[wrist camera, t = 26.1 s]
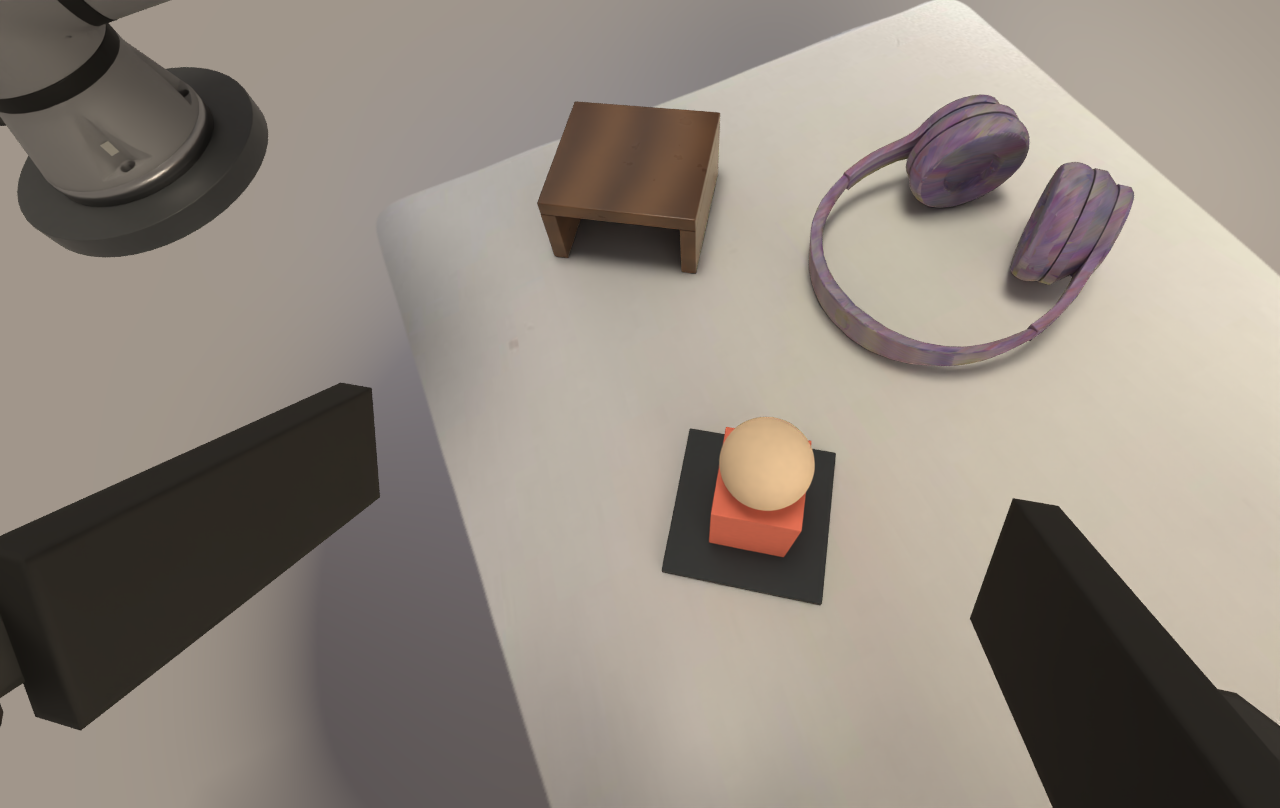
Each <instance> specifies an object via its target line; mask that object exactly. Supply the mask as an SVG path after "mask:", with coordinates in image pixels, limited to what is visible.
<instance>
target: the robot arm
mask: <svg viewBox="0 0 1280 808" xmlns="http://www.w3.org/2000/svg"><path fill="white" fill-rule="evenodd" d="M167 1H170V0H0V126H6V125H7V127H8V128H9V129H10V131H11V132H12V133H13V135H14V136H15V138H16V139H17V140H18V142H19V143H20V144H21V146H22V147H23V149H24V150H25V151H26V153H27V154H28V156H29V157H30V158H31V160H32V161H33V162H34V164H35V165H36V166H37V168H38V169H39V171H40V172H41V173H42V175H43V176H44V178H45V179H46V180H47V181H48V182H49V183H50V184H51V185H53V186H54V187H55V188H57V189H58V190H59V191H60V192H62V193H63V194H64V195H66V196H67V197H68V198H70V199H71V200H73V201H75V202H77V203H80V204H83V205H87V206H96V207H106V206H115V205H121V204H125V203H129V202H133V201H136V200H139V199H142V198H144V197H147V196H149V195H151V194H153V193H155V192H157V191H159V190H161V189H163V188H165V187H166V186H168V185H169V184H171V183H172V182H174V181H175V180H177V179H178V178H179V177H181V176H182V175H183V174H184V173H185V172H187V171H188V170H189V169H190V168H191V167H192V166H193V165H194V164H195V163H196V161H197V160H198V159H199V158H200V156H201V155H202V154H203V152H204V151H205V149H206V147H207V145H208V143H209V141H210V139H211V136H212V132H213V116H212V113H211V111H210V109H209V107H208V106H207V105H206V104H205V103H204V101H203V100H202V99H201V98H200V97H199V95H198V94H197V93H196V92H195V91H194V90H193V88H191V87H190V86H189V85H188V84H186V83H185V82H183V81H182V80H180V79H179V78H178V77H176V76H175V75H173V74H172V73H170V72H169V71H167V70H166V69H164V68H163V67H161V66H160V65H158V64H157V63H156V62H154V61H153V60H151V59H150V58H149V57H147V56H146V55H144V54H143V53H141V52H140V51H139V50H137V49H136V48H134V47H133V46H131V45H130V44H128V43H127V42H125V40H123V39H122V38H121V37H120V36H119V34H118V33H117V32H116V31H115V30H114V29H113V28H112V27H111V26H110V25H109V22H112V21H115V20H117V19H119V18H122V17H125V16H128V15H130V14H133V13H136V12H139V11H142V10H144V9H147V8H150V7H153V6H156V5H159V4H161V3H164V2H167ZM375 441H376V440H375V427H374V413H373V400H372V389H371V388H368V387H363V386H357V385H351V384H345V383H339V384H337V385H335V386H332V387H330V388H328V389H326V390H323V391H321V392H319V393H317V394H315V395H312V396H310V397H308V398H306V399H303V400H301V401H299V402H297V403H295V404H292V405H290V406H288V407H286V408H284V409H281V410H279V411H277V412H275V413H272V414H270V415H268V416H266V417H263V418H261V419H259V420H257V421H255V422H252V423H250V424H248V425H246V426H243V427H241V428H239V429H237V430H235V431H232V432H230V433H228V434H226V435H223V436H221V437H219V438H217V439H215V440H212V441H211V442H208V443H206V444H204V445H201V446H199V447H197V448H195V449H192V450H190V451H188V452H186V453H184V454H181V455H179V456H177V457H175V458H172V459H170V460H168V461H166V462H164V463H161V464H159V465H157V466H155V467H152V468H150V469H148V470H146V471H144V472H141V473H139V474H137V475H135V476H132V477H130V478H128V479H126V480H123V481H121V482H119V483H117V484H115V485H112V486H110V487H108V488H106V489H104V490H102V491H99V492H97V493H95V494H92V495H90V496H88V497H86V498H83V499H81V500H79V501H77V502H75V503H72V504H70V505H68V506H66V507H63V508H61V509H59V510H57V511H55V512H52V513H50V514H48V515H46V516H43V517H41V518H39V519H37V520H35V521H33V522H30V523H28V524H26V525H24V526H21V527H19V528H17V529H15V530H12V531H10V532H8V533H6V534H3V535H2V536H0V698H1V697H2V696H4V695H5V694H7V693H8V692H10V691H12V690H13V689H14V688H16V687H18V686H19V685H21V684H22V683H23V684H24V687H25V689H26V692H27V695H28V698H29V700H30V703H31V706H32V709H33V711H34V714H35V716H36V717H39V718H42V719H45V720H48V721H51V722H55V723H58V724H61V725H64V726H68V727H71V728H74V729H78V730H82V729H83V728H85V727H86V726H87V725H88V724H90V723H91V722H92V721H94V720H95V719H96V718H97V717H99V716H100V715H101V714H103V713H104V712H105V711H106V710H108V709H109V708H110V707H112V706H113V705H114V704H115V703H117V702H118V701H119V700H121V699H122V698H123V697H124V696H126V695H127V694H128V693H130V692H131V691H132V690H133V689H135V688H136V687H137V686H138V685H140V684H141V683H142V682H144V681H145V680H146V679H147V678H149V677H150V676H151V675H153V674H154V673H155V672H156V671H158V670H159V669H160V668H162V667H163V666H164V665H165V664H167V663H168V662H169V661H170V660H172V659H173V658H174V657H176V656H177V655H178V654H180V653H181V652H182V651H183V650H185V649H186V648H187V647H188V646H190V645H191V644H192V643H194V642H195V641H196V640H197V639H199V638H200V637H201V636H203V635H204V634H205V633H206V632H207V631H209V630H210V629H212V628H213V627H214V626H215V625H217V624H218V623H219V622H221V621H222V620H223V619H224V618H225V617H227V616H228V615H229V614H231V613H232V612H233V611H235V610H236V609H237V608H238V607H240V606H241V605H242V604H244V603H245V602H246V601H247V600H249V599H250V598H251V597H252V596H254V595H255V594H256V593H258V592H259V591H260V590H262V589H263V588H264V587H265V586H267V585H268V584H269V583H271V582H272V581H273V580H274V579H276V578H277V577H278V576H279V575H281V574H282V573H283V572H285V571H286V570H287V569H288V568H290V567H291V566H292V565H294V564H295V563H296V562H297V561H299V560H300V559H301V558H302V557H304V556H305V555H306V554H308V553H309V552H310V551H312V550H313V549H314V548H315V547H317V546H318V545H319V544H321V543H322V542H323V541H324V540H326V539H327V538H328V537H329V536H331V535H332V534H333V533H335V532H336V531H337V530H338V529H340V528H341V527H342V526H344V525H345V524H346V523H347V522H349V521H350V520H351V519H353V518H354V517H355V516H356V515H358V514H359V513H360V512H362V511H363V510H364V509H365V508H366V507H368V506H369V505H371V504H372V503H373V502H374V501H375V500H377V499H378V498H379V497H380V493H379V479H378V466H377V453H376V442H375ZM970 620H971V622H972V624H973V627H974V629H975V631H976V633H977V636H978V638H979V640H980V643H981V645H982V647H983V649H984V652H985V654H986V656H987V659H988V661H989V663H990V665H991V668H992V670H993V672H994V675H995V677H996V679H997V681H998V684H999V686H1000V688H1001V690H1002V693H1003V695H1004V697H1005V700H1006V702H1007V704H1008V706H1009V709H1010V711H1011V713H1012V716H1013V718H1014V720H1015V722H1016V725H1017V727H1018V729H1019V732H1020V734H1021V736H1022V738H1023V741H1024V743H1025V745H1026V748H1027V750H1028V752H1029V754H1030V757H1031V759H1032V761H1033V764H1034V766H1035V768H1036V770H1037V773H1038V775H1039V777H1040V780H1041V782H1042V784H1043V786H1044V789H1045V791H1046V793H1047V796H1048V798H1049V800H1050V802H1051V805H1052V807H1053V808H1280V726H1279V725H1278V724H1276V723H1275V722H1274V721H1273V720H1271V719H1270V718H1269V717H1267V716H1266V715H1265V714H1263V713H1262V712H1261V711H1259V710H1258V709H1257V708H1255V707H1254V706H1253V705H1251V704H1250V703H1249V702H1247V701H1246V700H1245V699H1243V698H1242V697H1241V696H1239V695H1238V694H1237V693H1233V692H1229V691H1224V690H1219V689H1217V688H1216V687H1215V686H1214V685H1213V684H1212V683H1211V681H1210V680H1209V679H1208V678H1207V677H1206V676H1205V675H1204V673H1203V672H1202V671H1201V670H1200V669H1199V668H1198V666H1197V665H1196V664H1195V663H1194V662H1193V661H1192V660H1191V658H1190V657H1189V656H1188V655H1187V654H1186V653H1185V651H1184V650H1183V649H1182V648H1181V647H1180V646H1179V645H1178V643H1177V642H1176V641H1175V640H1174V639H1173V638H1172V636H1171V635H1170V634H1169V633H1168V632H1167V631H1166V630H1165V628H1164V627H1163V626H1162V625H1161V624H1160V623H1159V621H1158V620H1157V619H1156V618H1155V617H1154V616H1153V615H1152V613H1151V612H1150V611H1149V610H1148V609H1147V608H1146V606H1145V605H1144V604H1143V603H1142V602H1141V601H1140V600H1139V598H1138V597H1137V596H1136V595H1135V594H1134V593H1133V591H1132V590H1131V589H1130V588H1129V587H1128V586H1127V585H1126V583H1125V582H1124V581H1123V580H1122V579H1121V578H1120V576H1119V575H1118V574H1117V573H1116V572H1115V571H1114V570H1113V568H1112V567H1111V566H1110V565H1109V564H1108V563H1107V561H1106V560H1105V559H1104V558H1103V557H1102V556H1101V555H1100V553H1099V552H1098V551H1097V550H1096V549H1095V548H1094V546H1093V545H1092V544H1091V543H1090V542H1089V541H1088V540H1087V538H1086V537H1085V536H1084V535H1083V534H1082V533H1081V531H1080V530H1079V529H1078V528H1077V527H1076V526H1075V525H1074V523H1073V522H1072V521H1071V520H1070V519H1069V518H1068V516H1067V515H1066V514H1065V513H1064V512H1063V511H1062V510H1061V508H1060V507H1059V506H1055V505H1049V504H1044V503H1038V502H1032V501H1026V500H1020V499H1014V498H1013V500H1012V502H1011V505H1010V508H1009V511H1008V514H1007V516H1006V519H1005V522H1004V525H1003V528H1002V530H1001V533H1000V536H999V539H998V542H997V544H996V547H995V550H994V553H993V555H992V558H991V561H990V564H989V567H988V569H987V572H986V575H985V578H984V581H983V583H982V586H981V589H980V592H979V595H978V597H977V600H976V603H975V606H974V609H973V611H972V614H971V617H970ZM2 716H3V710H2V707H1V705H0V726H1V723H2Z"/></svg>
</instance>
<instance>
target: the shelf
mask: <svg viewBox="0 0 1280 808" xmlns="http://www.w3.org/2000/svg"><path fill="white" fill-rule="evenodd" d="M719 135H720V113H718V112H705V111H692V110H679V109H666V108H653V107H640V106H627V105H613V104H601V103H588V102H574V105H573V108H572V111H571V113H570V116H569V119H568V121H567V124H566V127H565V130H564V132H563V135H562V138H561V140H560V143H559V146H558V148H557V151H556V154H555V156H554V159H553V162H552V165H551V167H550V170H549V173H548V175H547V178H546V181H545V183H544V186H543V189H542V192H541V194H540V197H539V200H538V202H537V204H538V207H539V210H540V213H541V217H542V220H543V223H544V226H545V229H546V232H547V234H548V237H549V240H550V243H551V246H552V249H553V252H554V255H555V256H557V257H565V258H568V256H569V253H570V250H571V247H572V244H573V241H574V238H575V235H576V232H577V229H578V226H579V223H580V220H581V219H590V220H599V221H608V222H617V223H626V224H635V225H644V226H653V227H662V228H670V229H679V230H680V249H681V271H682V272H687V273H696V271H697V266H698V262H699V257H700V253H701V248H702V244H703V239H704V234H705V230H706V225H707V221H708V216H709V212H710V207H711V203H712V198H713V194H714V189H715V184H716V180H717V175H718V161H719Z"/></svg>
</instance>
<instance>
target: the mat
mask: <svg viewBox="0 0 1280 808" xmlns="http://www.w3.org/2000/svg"><path fill="white" fill-rule="evenodd" d="M724 435H725V434H720V433H714V432H708V431H702V430H696V429H690V431H689V436H688V441H687V446H686V451H685V456H684V461H683V466H682V471H681V476H680V481H679V486H678V491H677V496H676V501H675V506H674V511H673V516H672V521H671V526H670V531H669V536H668V541H667V546H666V551H665V556H664V561H663V566H662V572H665V573H670V574H675V575H680V576H684V577H689V578H694V579H699V580H703V581H708V582H713V583H718V584H722V585H727V586H732V587H737V588H741V589H746V590H751V591H756V592H760V593H765V594H770V595H775V596H779V597H784V598H789V599H794V600H799V601H803V602H808V603H813V604H818V605H821V604H822V597H823V586H824V575H825V564H826V553H827V543H828V532H829V521H830V510H831V499H832V489H833V478H834V467H835V456H836V453H833V452H827V451H821V450H815V449H812V450H813V454H814V461H815V470H814V475H813V478H812V481H811V484H810V486H809V488H808V489H807V491H806V495H805V504H804V513H803V522H802V531H801V532H800V534H799V535H798V537H797V538H796V540H795V541H794V543H793V544H792V546H791V547H790V549H789V550H788V552H787V553H786V555H785V556H784V557H779V556H774V555H769V554H764V553H759V552H754V551H749V550H744V549H739V548H734V547H729V546H724V545H719V544H714V543H710V542H709V534H710V520H711V510H712V504H713V499H714V493H715V487H716V481H717V476H718V470H719V459H720V453H721V449H722V446H723V441H724Z"/></svg>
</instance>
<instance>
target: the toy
mask: <svg viewBox="0 0 1280 808" xmlns="http://www.w3.org/2000/svg"><path fill="white" fill-rule="evenodd" d="M814 470H815V461H814V454H813V450H812V448H811V441H808V440H807V438H806V437H805V436H804V434H803V433H802V432H801V431H800V430H799V429H798V428H796V427H795V426H794V425H792V424H791V423H789V422H787V421H784V420H782V419H778V418H774V417H759V418H754V419H751V420H748V421H746V422H744V423H742V424H740V425H739V426H737V427H736V428H730V427H726V430H725V435H724V441H723V446H722V449H721V453H720V459H719V470H718V476H717V481H716V487H715V493H714V499H713V504H712V510H711V520H710V534H709V542H710V543H714V544H719V545H724V546H729V547H734V548H739V549H744V550H749V551H754V552H759V553H764V554H769V555H774V556H779V557H784V556H785V555H786V553H787V552H788V550H789V549H790V547H791V546H792V544H793V543H794V541H795V540H796V538H797V537H798V535H799V534H800V532H801V531H802V522H803V513H804V504H805V495H806V491H807V489H808V488H809V486H810V484H811V481H812V478H813V475H814Z"/></svg>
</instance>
